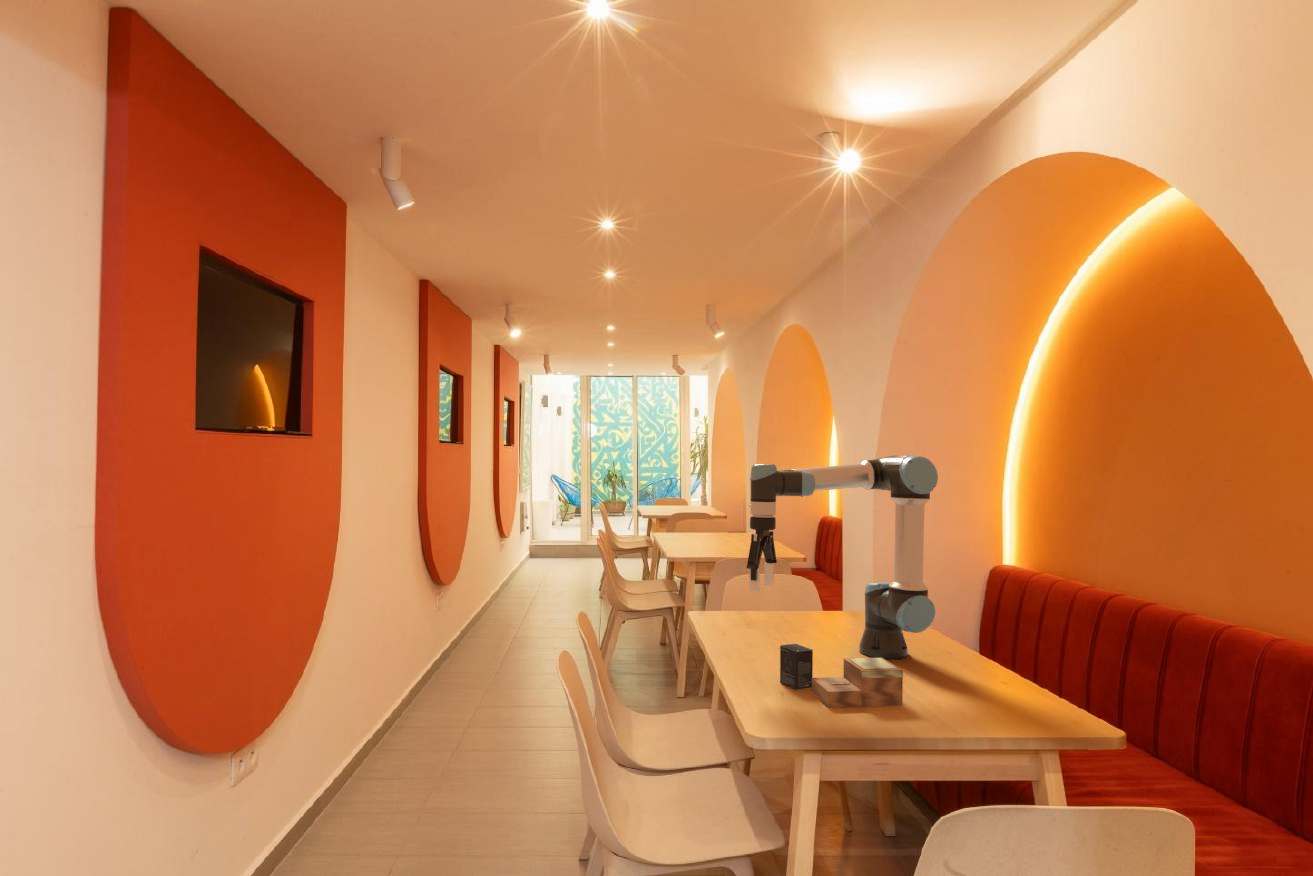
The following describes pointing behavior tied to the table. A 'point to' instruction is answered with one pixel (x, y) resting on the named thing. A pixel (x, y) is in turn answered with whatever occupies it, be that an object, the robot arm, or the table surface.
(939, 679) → the table surface
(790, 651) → the box
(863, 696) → the stand
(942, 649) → the table surface
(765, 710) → the table surface
